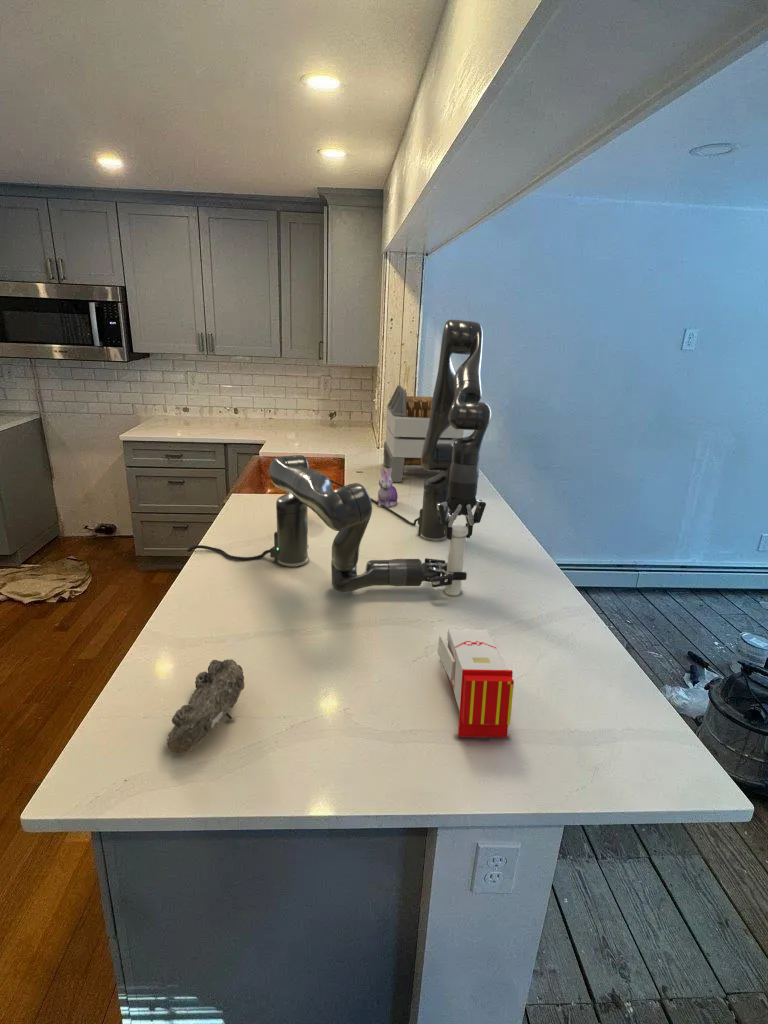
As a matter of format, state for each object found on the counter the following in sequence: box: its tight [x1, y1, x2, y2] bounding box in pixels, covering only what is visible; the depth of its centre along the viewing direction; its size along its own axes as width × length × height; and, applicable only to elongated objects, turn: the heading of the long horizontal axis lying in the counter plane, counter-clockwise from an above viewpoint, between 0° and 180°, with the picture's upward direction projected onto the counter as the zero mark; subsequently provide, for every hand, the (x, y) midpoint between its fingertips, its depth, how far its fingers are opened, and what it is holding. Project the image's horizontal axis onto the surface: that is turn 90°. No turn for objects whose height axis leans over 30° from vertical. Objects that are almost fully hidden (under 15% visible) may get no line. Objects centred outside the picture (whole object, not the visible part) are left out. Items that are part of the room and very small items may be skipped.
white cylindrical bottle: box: [444, 535, 467, 596], centre depth 157 cm, size 4×4×19 cm
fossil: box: [166, 658, 245, 754], centre depth 106 cm, size 22×10×15 cm
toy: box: [437, 628, 515, 738], centre depth 117 cm, size 12×13×30 cm
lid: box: [452, 523, 468, 536], centre depth 154 cm, size 5×5×2 cm
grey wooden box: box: [383, 384, 465, 483], centre depth 268 cm, size 34×33×41 cm
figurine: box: [377, 467, 399, 508], centre depth 227 cm, size 9×10×15 cm
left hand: (463, 571), depth 159 cm, fingers closed on white cylindrical bottle, 4 cm apart
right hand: (457, 537), depth 155 cm, fingers closed on lid, 5 cm apart
